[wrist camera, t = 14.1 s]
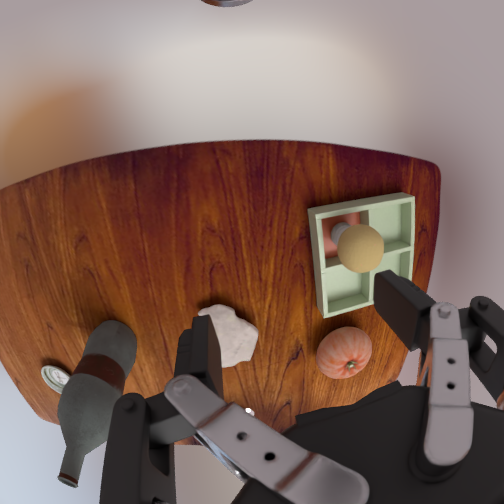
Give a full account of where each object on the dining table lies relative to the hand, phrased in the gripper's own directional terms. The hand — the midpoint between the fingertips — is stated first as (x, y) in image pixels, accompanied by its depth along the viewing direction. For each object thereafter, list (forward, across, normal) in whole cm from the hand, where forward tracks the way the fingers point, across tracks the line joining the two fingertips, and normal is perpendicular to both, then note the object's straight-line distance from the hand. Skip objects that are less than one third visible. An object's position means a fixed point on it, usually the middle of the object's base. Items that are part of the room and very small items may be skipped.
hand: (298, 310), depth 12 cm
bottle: (+28, +28, +19) cm, 44 cm away
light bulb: (+27, -13, +8) cm, 31 cm away
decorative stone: (+28, +8, +22) cm, 36 cm away
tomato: (+28, -12, +30) cm, 43 cm away
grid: (+28, -18, +12) cm, 35 cm away
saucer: (+28, +49, +28) cm, 62 cm away
